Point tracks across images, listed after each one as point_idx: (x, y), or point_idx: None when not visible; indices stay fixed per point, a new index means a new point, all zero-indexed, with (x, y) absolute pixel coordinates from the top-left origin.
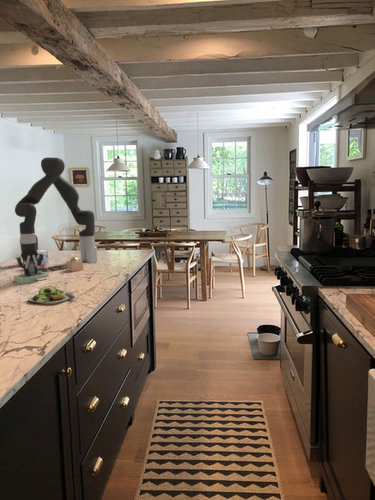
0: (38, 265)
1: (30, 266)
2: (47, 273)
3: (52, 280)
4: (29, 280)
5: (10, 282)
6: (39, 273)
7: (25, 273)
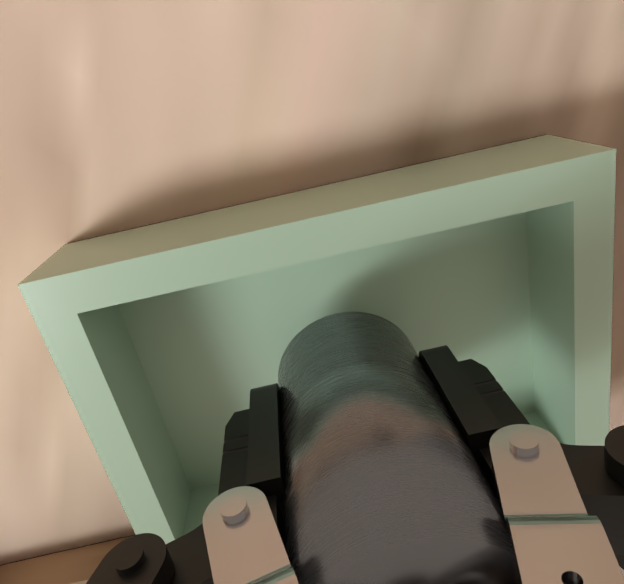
0: (177, 547)
1: (424, 453)
2: (38, 317)
3: (2, 116)
4: (429, 174)
5: (614, 388)
6: (181, 518)
7: (487, 373)
